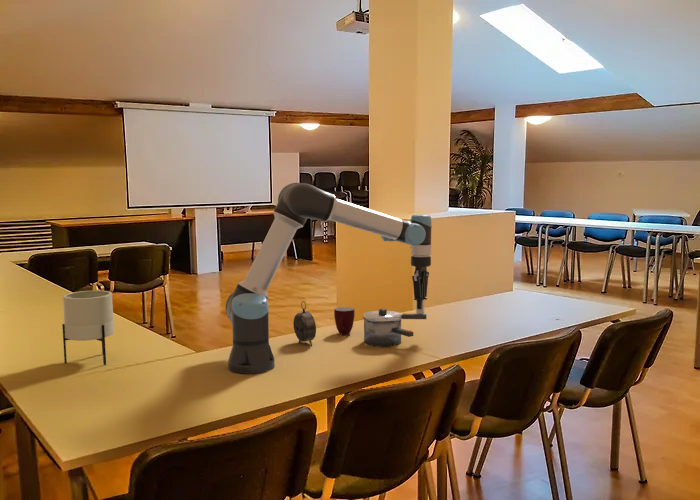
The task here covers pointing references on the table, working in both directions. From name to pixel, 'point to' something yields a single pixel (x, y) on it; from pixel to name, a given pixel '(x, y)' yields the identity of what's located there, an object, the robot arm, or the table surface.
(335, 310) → the mug
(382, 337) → the pot
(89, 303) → the planter
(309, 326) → the alarm clock
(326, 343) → the table surface
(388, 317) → the lid
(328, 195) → the robot arm
